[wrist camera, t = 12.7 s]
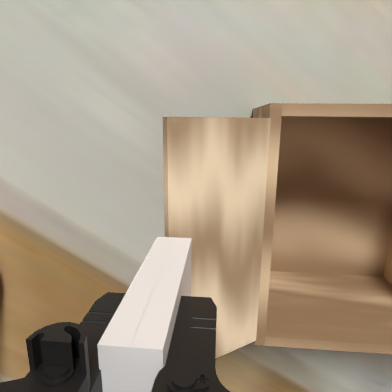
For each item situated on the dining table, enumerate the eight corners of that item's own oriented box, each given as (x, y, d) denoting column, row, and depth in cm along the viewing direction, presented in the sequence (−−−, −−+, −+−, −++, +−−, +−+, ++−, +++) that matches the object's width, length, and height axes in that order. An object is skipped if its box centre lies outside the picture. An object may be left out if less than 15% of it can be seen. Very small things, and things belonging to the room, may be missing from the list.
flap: (256, 340, 18) (170, 378, 15) (251, 336, 18) (167, 373, 16) (270, 118, 15) (166, 117, 12) (265, 118, 15) (162, 117, 12)
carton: (385, 279, 26) (466, 359, 18) (244, 272, 27) (254, 345, 18) (415, 109, 23) (534, 104, 14) (252, 109, 24) (270, 103, 15)
